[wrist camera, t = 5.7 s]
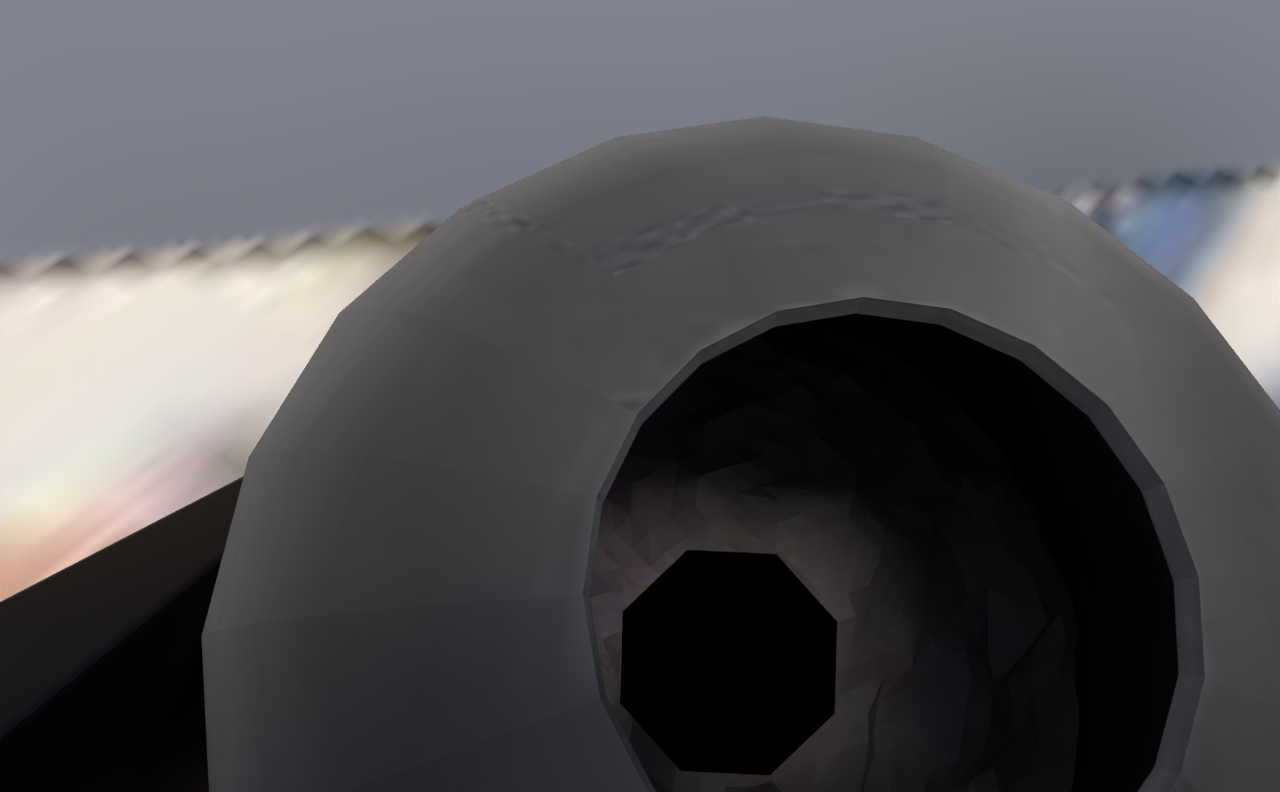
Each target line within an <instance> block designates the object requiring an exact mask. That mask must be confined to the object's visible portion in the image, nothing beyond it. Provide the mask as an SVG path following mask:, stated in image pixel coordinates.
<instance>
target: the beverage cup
mask: <svg viewBox="0 0 1280 792" xmlns="http://www.w3.org/2000/svg"><path fill="white" fill-rule="evenodd" d="M202 656H203V677H204V697H205V718H206V738H207V759H208V780H209V792H1280V410H1279V409H1278V407H1277V406H1276V405H1275V403H1274V402H1273V401H1272V400H1271V398H1270V397H1269V396H1268V394H1267V393H1266V392H1265V391H1264V389H1263V388H1262V387H1261V385H1260V384H1259V383H1258V381H1257V380H1256V379H1255V378H1254V376H1253V375H1252V374H1251V372H1250V371H1249V370H1248V368H1247V367H1246V366H1245V365H1244V363H1243V362H1242V361H1241V359H1240V358H1239V357H1238V355H1237V354H1236V353H1235V352H1234V350H1233V349H1232V348H1231V346H1230V345H1229V344H1228V342H1227V341H1226V340H1225V339H1224V337H1223V336H1222V335H1221V333H1220V332H1219V331H1218V329H1217V328H1216V327H1215V326H1214V324H1213V323H1212V322H1211V320H1210V319H1209V318H1208V316H1207V315H1206V314H1205V313H1204V311H1203V310H1202V309H1201V307H1200V306H1199V305H1198V303H1197V302H1196V301H1195V300H1194V298H1192V297H1191V296H1190V295H1188V294H1187V293H1186V292H1185V291H1183V290H1182V289H1181V288H1179V287H1178V286H1177V285H1176V284H1174V283H1173V282H1172V281H1170V280H1169V279H1168V278H1167V277H1165V276H1164V275H1163V274H1161V273H1160V272H1159V271H1157V270H1156V269H1155V268H1154V267H1152V266H1151V265H1150V264H1148V263H1147V262H1146V261H1145V260H1143V259H1142V258H1141V257H1139V256H1138V255H1137V254H1135V253H1134V252H1133V251H1132V250H1130V249H1129V248H1128V247H1126V246H1125V245H1124V244H1123V243H1121V242H1120V241H1119V240H1117V239H1116V238H1115V237H1113V236H1112V235H1111V234H1110V233H1108V232H1107V231H1106V230H1104V229H1103V228H1102V227H1101V226H1099V225H1098V224H1097V223H1095V222H1094V221H1093V220H1091V219H1090V218H1089V217H1088V216H1086V215H1085V214H1084V213H1082V212H1081V211H1080V210H1079V209H1077V208H1076V207H1075V206H1073V205H1072V204H1071V203H1070V202H1067V201H1065V200H1063V199H1060V198H1058V197H1056V196H1053V195H1051V194H1048V193H1046V192H1044V191H1041V190H1039V189H1037V188H1034V187H1032V186H1030V185H1027V184H1025V183H1022V182H1020V181H1018V180H1015V179H1013V178H1010V177H1008V176H1006V175H1004V174H1001V173H999V172H996V171H994V170H992V169H989V168H987V167H984V166H982V165H980V164H978V163H975V162H973V161H970V160H968V159H966V158H963V157H961V156H959V155H956V154H953V153H952V152H949V151H947V150H944V149H942V148H940V147H937V146H935V145H933V144H930V143H928V142H925V141H922V140H920V139H918V138H915V137H910V136H903V135H895V134H887V133H881V132H873V131H866V130H859V129H851V128H844V127H837V126H830V125H822V124H815V123H808V122H800V121H792V120H786V119H778V118H771V117H759V118H751V119H743V120H737V121H730V122H722V123H715V124H708V125H701V126H693V127H686V128H679V129H672V130H665V131H657V132H650V133H643V134H636V135H629V136H621V137H615V138H613V139H611V140H609V141H606V142H604V143H602V144H600V145H597V146H595V147H593V148H591V149H589V150H586V151H584V152H582V153H580V154H578V155H575V156H573V157H571V158H569V159H566V160H564V161H562V162H560V163H557V164H555V165H553V166H551V167H549V168H546V169H544V170H542V171H540V172H538V173H535V174H533V175H531V176H529V177H527V178H524V179H522V180H520V181H518V182H515V183H513V184H511V185H509V186H507V187H504V188H502V189H500V190H497V191H495V192H493V193H491V194H489V195H486V196H484V197H482V198H480V199H478V200H475V201H473V202H472V203H470V204H468V205H466V206H464V207H462V208H460V209H459V210H458V211H457V212H455V213H454V214H453V215H452V216H451V217H450V218H448V219H447V220H446V221H445V222H444V223H443V224H442V225H440V226H439V227H438V228H437V229H436V230H435V231H433V232H432V233H431V234H430V235H429V236H428V237H427V238H425V239H424V240H423V241H422V242H421V243H420V244H418V245H417V246H416V247H415V248H414V249H413V250H412V251H410V252H409V253H408V254H407V255H406V256H405V257H403V258H402V259H401V260H400V261H399V262H398V263H397V264H395V265H394V266H393V267H392V268H391V269H390V270H388V271H387V272H386V273H385V274H384V275H383V276H382V277H380V278H379V279H378V280H377V281H376V282H375V283H373V284H372V285H371V286H370V287H369V288H368V289H367V290H365V291H364V292H363V293H362V294H361V295H360V296H358V297H357V298H356V299H355V300H354V301H353V302H352V303H350V304H349V305H348V306H347V307H346V308H345V309H343V310H342V311H341V312H340V313H339V314H338V316H337V318H336V319H335V321H334V322H333V324H332V326H331V327H330V329H329V330H328V332H327V334H326V335H325V337H324V338H323V340H322V342H321V343H320V345H319V346H318V348H317V350H316V351H315V353H314V354H313V356H312V358H311V359H310V361H309V362H308V364H307V366H306V367H305V369H304V370H303V372H302V373H301V375H300V377H299V378H298V380H297V381H296V383H295V385H294V386H293V388H292V389H291V391H290V393H289V394H288V396H287V397H286V399H285V401H284V402H283V404H282V405H281V407H280V409H279V410H278V412H277V413H276V415H275V417H274V418H273V420H272V421H271V423H270V425H269V426H268V428H267V429H266V431H265V433H264V434H263V436H262V437H261V439H260V441H259V442H258V444H257V445H256V447H255V449H254V450H253V452H252V453H251V455H250V456H249V459H248V462H247V466H246V470H245V474H244V477H243V481H242V485H241V489H240V493H239V496H238V500H237V504H236V508H235V512H234V515H233V519H232V523H231V527H230V530H229V534H228V538H227V542H226V546H225V549H224V553H223V557H222V561H221V564H220V568H219V572H218V576H217V580H216V583H215V587H214V591H213V595H212V599H211V602H210V606H209V610H208V614H207V617H206V621H205V625H204V629H203V633H202Z"/></svg>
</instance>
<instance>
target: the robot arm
mask: <svg viewBox="0 0 1280 792" xmlns="http://www.w3.org/2000/svg"><path fill="white" fill-rule="evenodd" d="M243 477H244V476H243ZM243 477H241V478H239V479H237V480H236V481H234V482H232V483H230V484H228V485H226V486H224V487H222V488H220V489H218V490H216V491H214V492H212V493H210V494H208V495H206V496H205V497H203V498H201V499H199V500H197V501H195V502H193V503H191V504H189V505H187V506H185V507H183V508H181V509H179V510H177V511H175V512H174V513H172V514H170V515H168V516H166V517H164V518H162V519H160V520H158V521H156V522H154V523H152V524H150V525H148V526H146V527H144V528H143V529H141V530H139V531H137V532H135V533H133V534H131V535H129V536H127V537H125V538H123V539H121V540H119V541H117V542H115V543H113V544H112V545H110V546H108V547H106V548H104V549H102V550H100V551H98V552H96V553H94V554H92V555H90V556H88V557H86V558H84V559H82V560H81V561H79V562H77V563H75V564H73V565H71V566H69V567H67V568H65V569H63V570H61V571H59V572H57V573H55V574H53V575H52V576H50V577H48V578H46V579H44V580H42V581H40V582H38V583H36V584H34V585H32V586H30V587H28V588H26V589H24V590H22V591H21V592H19V593H17V594H15V595H13V596H11V597H9V598H7V599H5V600H3V601H1V602H0V792H209V780H208V759H207V738H206V718H205V697H204V677H203V656H202V633H203V629H204V625H205V621H206V617H207V614H208V610H209V606H210V602H211V599H212V595H213V591H214V587H215V583H216V580H217V576H218V572H219V568H220V564H221V561H222V557H223V553H224V549H225V546H226V542H227V538H228V534H229V530H230V527H231V523H232V519H233V515H234V512H235V508H236V504H237V500H238V496H239V493H240V489H241V485H242V481H243Z"/></svg>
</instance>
